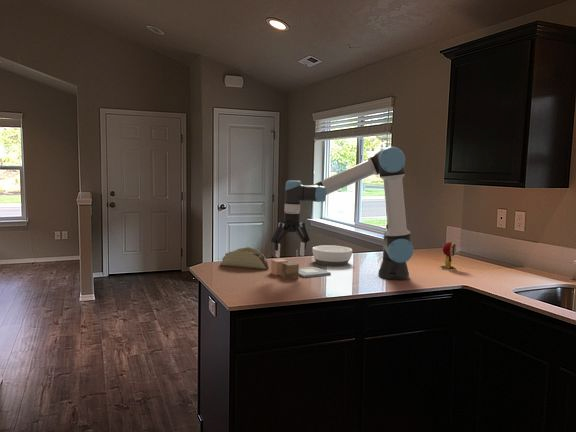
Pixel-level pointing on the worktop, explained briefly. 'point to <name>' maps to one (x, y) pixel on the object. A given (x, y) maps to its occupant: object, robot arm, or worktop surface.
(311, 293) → the worktop surface
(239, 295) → the worktop surface
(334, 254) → the bowl
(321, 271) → the board
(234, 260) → the taco
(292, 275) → the walnut block
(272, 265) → the terracotta block
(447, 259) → the figurine
